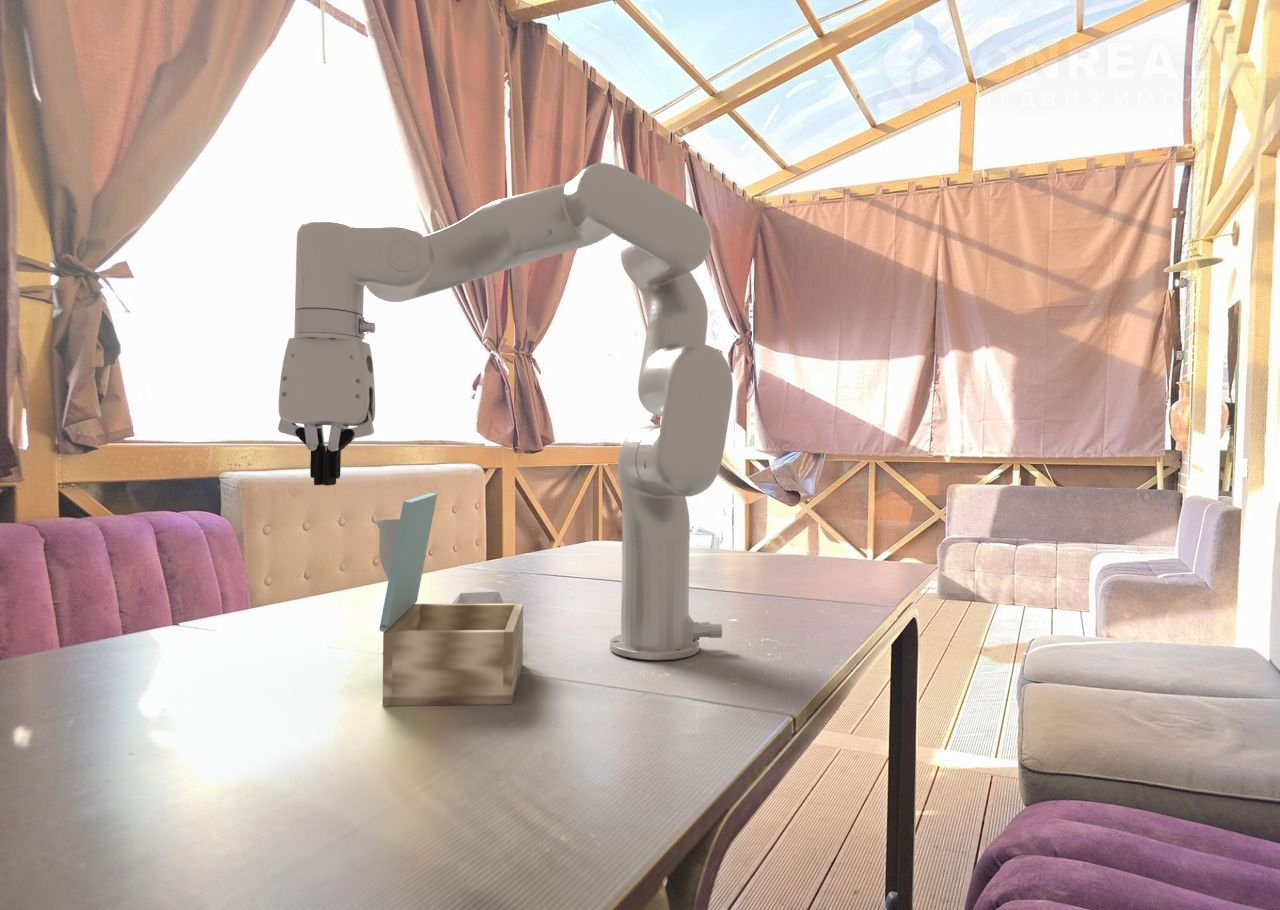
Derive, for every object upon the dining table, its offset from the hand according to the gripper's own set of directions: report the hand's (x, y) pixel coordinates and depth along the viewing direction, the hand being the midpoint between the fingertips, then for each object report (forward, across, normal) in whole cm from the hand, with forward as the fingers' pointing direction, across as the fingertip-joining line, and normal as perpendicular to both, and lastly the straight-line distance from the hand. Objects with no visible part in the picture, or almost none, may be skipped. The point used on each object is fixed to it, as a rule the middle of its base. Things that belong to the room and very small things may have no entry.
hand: (325, 484), depth 93 cm
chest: (+24, -16, 0) cm, 29 cm away
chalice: (+24, -6, -15) cm, 29 cm away
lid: (+8, -11, 0) cm, 14 cm away
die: (+24, -16, -18) cm, 34 cm away
